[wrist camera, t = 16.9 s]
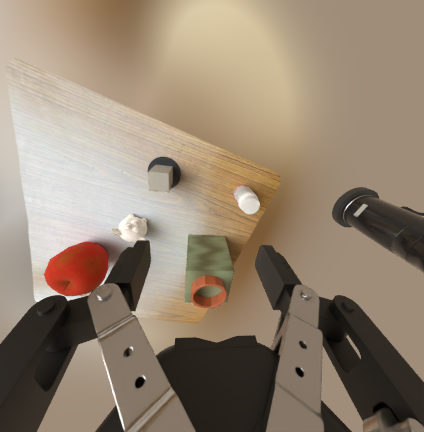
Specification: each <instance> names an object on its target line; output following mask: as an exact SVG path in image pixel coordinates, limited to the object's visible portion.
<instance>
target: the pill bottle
mask: <svg viewBox="0 0 424 432" xmlns="http://www.w3.org/2000/svg"><path fill="white" fill-rule="evenodd" d="M234 198H235V200H236V202H237V204H238V205H239V207H240V208H241V209H242V210H243V211H244V212H245V213H246V214H254V213H256V212H257V211H258V209H259V207H260V203H259V201H258V197H257V196H256V194H255V193H254V192H253V191H252V190H251V189H250V187H248V186H247V185H240V186H238V187H237V188H236V189H235V190H234Z"/></svg>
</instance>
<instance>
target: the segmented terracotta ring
mask: <svg viewBox="0 0 424 432" xmlns="http://www.w3.org/2000/svg"><path fill="white" fill-rule="evenodd" d="M205 286H216V287H218V288H220V289H222V291H221V292H220V293H219V294H218V295H216V296H213V297H201V296H198V295H196V293H195V292H196V291H197V290H198V289H200V288H203V287H205ZM226 297H227V290H226V285H225V283H224V281H223V280H222V279H221V278H219V277H217V276H203V277H200V278H197V279H196V280H195V281H194V282H193V283H192V285H191V301H192V302H193V304H194V305H195V306H198V307H201V308H213V307H216V306H219V305H221V304H222V303H223V302H224V301H225V300H226Z"/></svg>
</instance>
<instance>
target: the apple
mask: <svg viewBox="0 0 424 432" xmlns="http://www.w3.org/2000/svg"><path fill="white" fill-rule="evenodd" d="M108 261H109V257H108V253H107V251H106V250H105V249H104V248H103V247H101V246H100V245H98V244H96V243H93V242H83V243H79V244H77V245H74V246H71V247H68V248H67V249H65V250H64V251H62V252H61V253H59V254H58V255H56V256H55V257H53V258H52V259H50V261H49V263H48V266H47V268H46V271H45V273H44V276H45V279H46V282H47V284H48V285H49V286H50V287H51V288H52V289H53V290H55V291H56V292H58V293H60V294H62V295H65V296H77V295H83V294H87V293H89V292H91V291H93V290H94V289H96V288H97V287H98V286H99V285H100V284H101V283H102V282H103V280H104V278H105V276H106V273H107V270H108Z"/></svg>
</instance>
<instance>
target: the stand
mask: <svg viewBox="0 0 424 432" xmlns="http://www.w3.org/2000/svg"><path fill="white" fill-rule="evenodd" d="M233 274H234V269H233V265H232V261H231V257H230V253H229V250H228V246H227V242H226V238H225V236H205V235H188V248H187V263H186V280H185V299H184V302H192V301H191V285H192V283H193V282H194V281H195V280H196V279H197V278H200V277H203V276H217V277H219V278H221V279H222V280H223V281H224V283H225V285H226V290H227V297H226V300H225V301H224V302H227V300H228V296H229V292H230V287H231V283H232V278H233ZM221 291H222V289H220V288H218V287H216V286H205V287H203V288H200V289H198V290H197V291H196V292H195V293H196V295H198V296H201V297H213V296H216V295H218V294H219V293H220V292H221Z"/></svg>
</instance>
